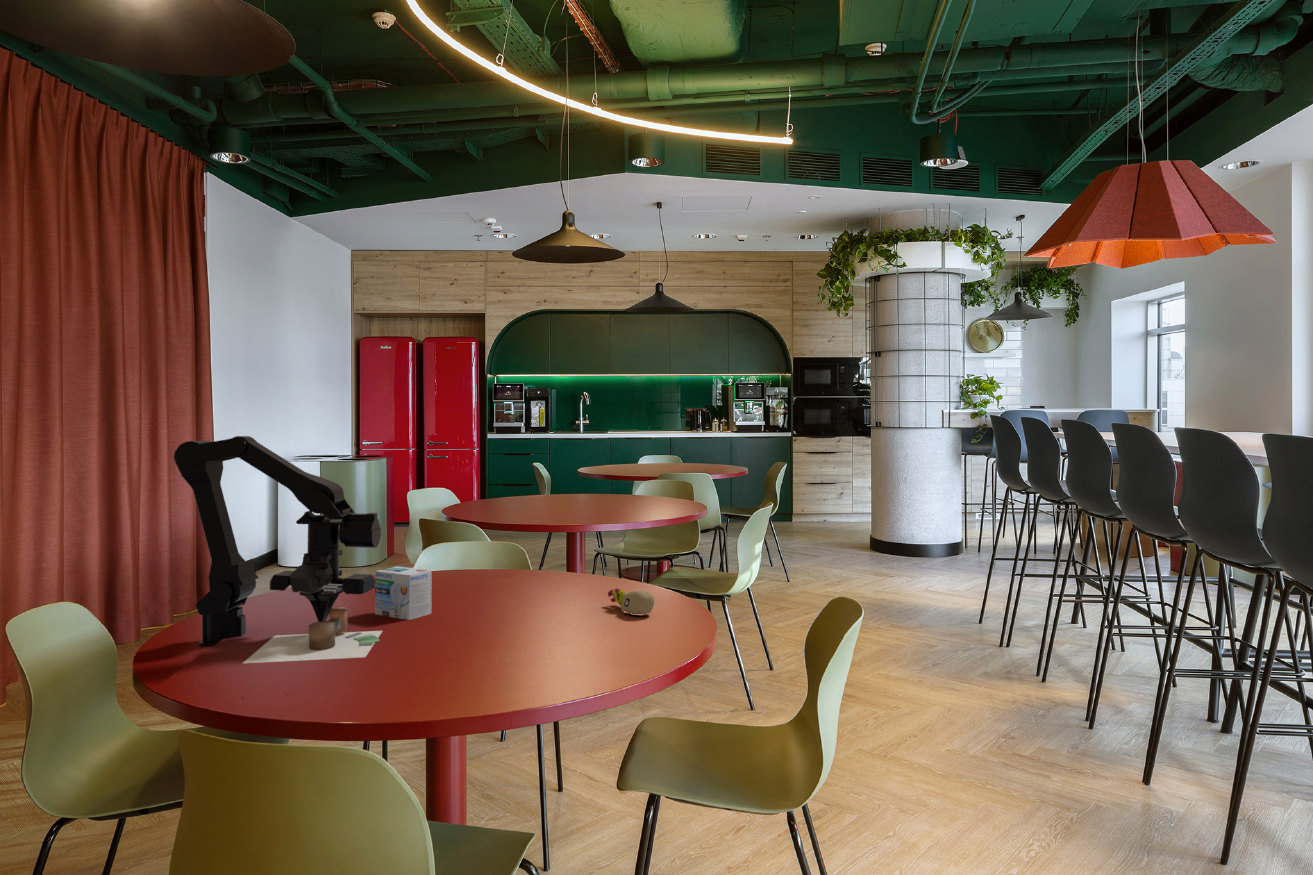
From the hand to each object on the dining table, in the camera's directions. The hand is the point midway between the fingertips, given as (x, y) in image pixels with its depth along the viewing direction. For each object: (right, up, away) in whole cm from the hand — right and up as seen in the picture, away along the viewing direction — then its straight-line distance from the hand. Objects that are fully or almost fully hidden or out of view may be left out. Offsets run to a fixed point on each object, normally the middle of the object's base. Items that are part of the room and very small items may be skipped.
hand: (322, 625), depth 151 cm
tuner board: (+3, -3, -9) cm, 10 cm away
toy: (+60, -3, +24) cm, 64 cm away
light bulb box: (+11, -3, +16) cm, 19 cm away
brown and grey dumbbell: (+4, -1, -5) cm, 7 cm away
